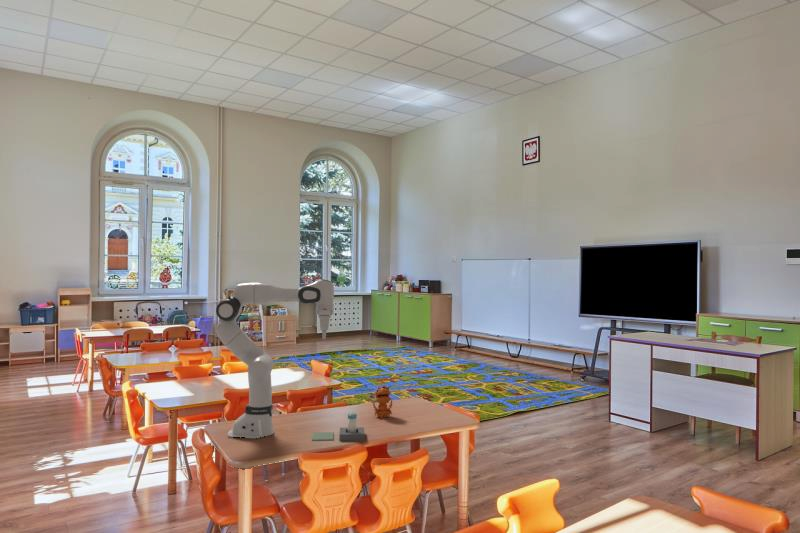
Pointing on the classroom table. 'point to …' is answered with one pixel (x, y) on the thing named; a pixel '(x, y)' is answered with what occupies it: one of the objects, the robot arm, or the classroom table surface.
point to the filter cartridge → (352, 422)
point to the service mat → (322, 436)
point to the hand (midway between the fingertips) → (324, 338)
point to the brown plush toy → (383, 402)
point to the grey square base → (352, 434)
